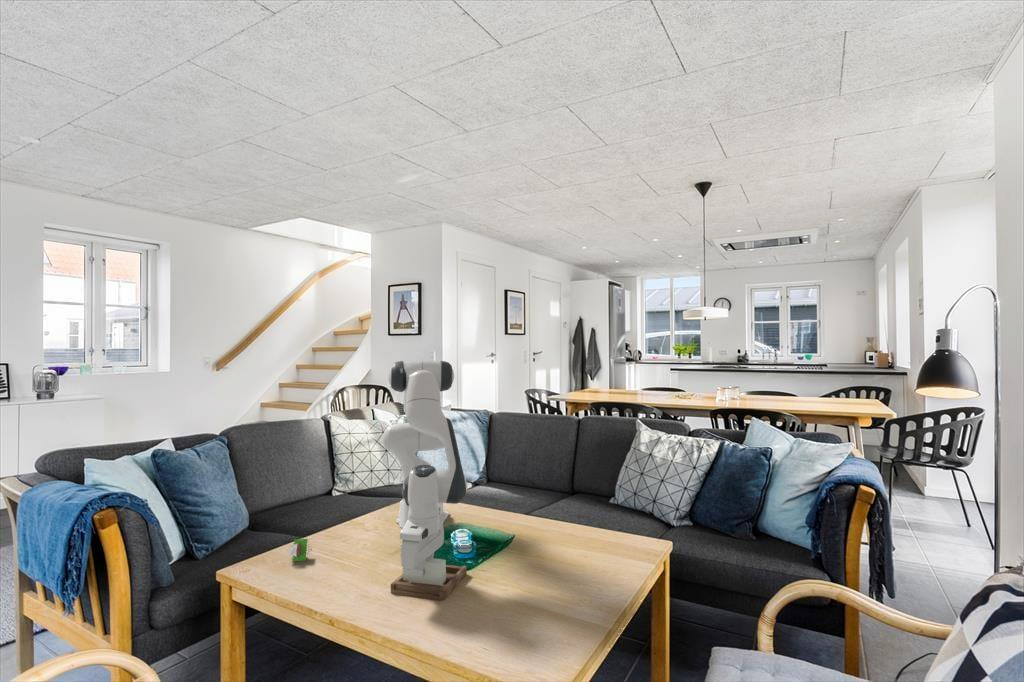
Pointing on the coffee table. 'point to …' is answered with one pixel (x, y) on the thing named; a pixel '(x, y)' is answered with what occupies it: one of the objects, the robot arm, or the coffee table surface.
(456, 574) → the brown wooden flat frame
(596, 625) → the coffee table surface
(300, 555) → the geometric puzzle
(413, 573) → the white rectangular block
